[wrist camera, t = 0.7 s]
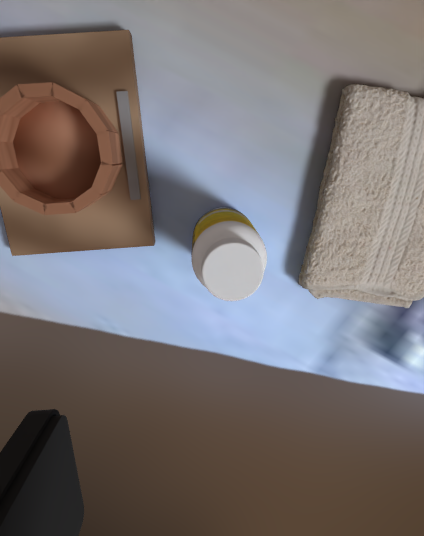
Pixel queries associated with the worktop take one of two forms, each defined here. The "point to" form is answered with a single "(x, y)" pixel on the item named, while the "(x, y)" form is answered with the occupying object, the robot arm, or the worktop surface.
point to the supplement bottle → (228, 254)
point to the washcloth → (371, 202)
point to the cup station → (72, 144)
